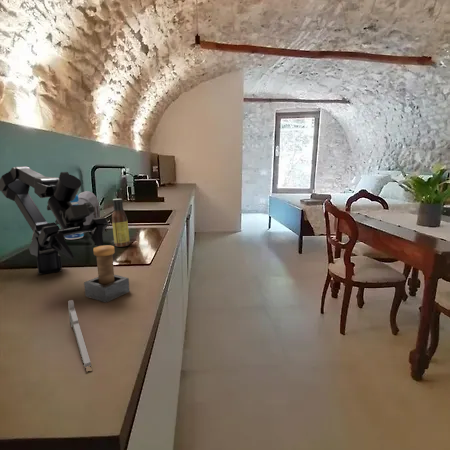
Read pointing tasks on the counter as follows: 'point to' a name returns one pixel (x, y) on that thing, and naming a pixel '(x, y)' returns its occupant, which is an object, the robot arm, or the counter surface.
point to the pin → (105, 263)
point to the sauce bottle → (120, 224)
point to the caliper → (78, 333)
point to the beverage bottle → (74, 236)
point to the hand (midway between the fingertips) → (88, 254)
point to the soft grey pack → (90, 197)
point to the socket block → (106, 289)
